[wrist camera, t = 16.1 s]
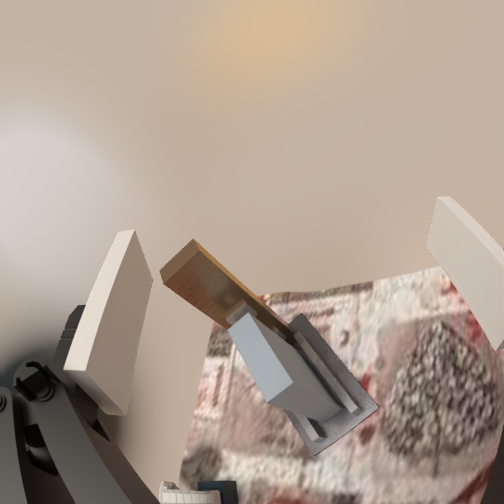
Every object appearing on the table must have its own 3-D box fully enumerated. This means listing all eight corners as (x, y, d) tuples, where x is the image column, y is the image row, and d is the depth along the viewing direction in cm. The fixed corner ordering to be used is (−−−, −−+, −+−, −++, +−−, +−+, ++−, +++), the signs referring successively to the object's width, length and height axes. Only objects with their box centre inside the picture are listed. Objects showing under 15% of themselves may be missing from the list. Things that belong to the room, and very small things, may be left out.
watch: (201, 483, 37) (144, 477, 30) (246, 480, 34) (190, 476, 27) (204, 515, 32) (146, 515, 26) (250, 515, 30) (193, 520, 23)
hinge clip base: (302, 314, 46) (209, 219, 33) (379, 407, 32) (302, 349, 18) (253, 355, 47) (143, 281, 33) (314, 456, 32) (185, 436, 18)
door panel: (300, 350, 42) (245, 307, 34) (342, 408, 34) (293, 382, 25) (284, 364, 42) (224, 324, 34) (323, 422, 34) (266, 402, 25)
